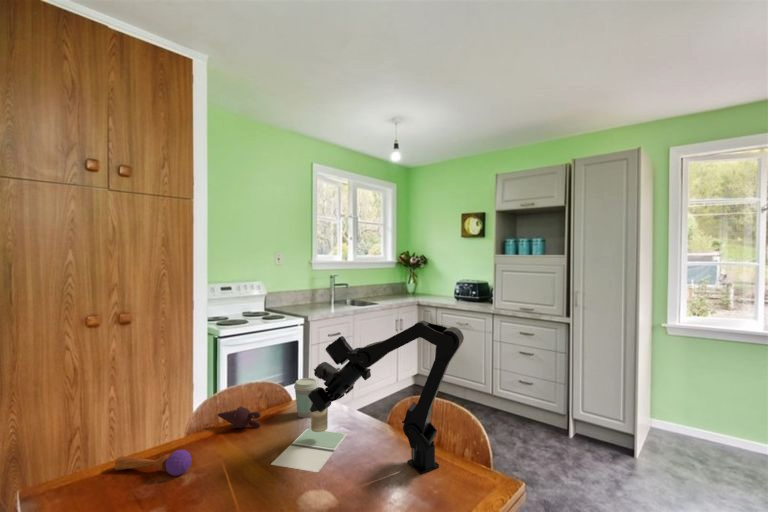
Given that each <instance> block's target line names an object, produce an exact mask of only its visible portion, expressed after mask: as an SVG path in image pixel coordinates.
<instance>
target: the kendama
mask: <svg viewBox="0 0 768 512" xmlns="http://www.w3.org/2000/svg"><path fill="white" fill-rule="evenodd" d="M124 457H125V458H124ZM118 459H119V460H118ZM192 459H193V458H192V455H191V453H190V452H189V451H188V450H186V449H177V450H175V451H173V452H172V453H167V454H165V455H163V456H161V457H159V458H157V459H149V458H141V457H133V456H124V455H120V456H118V457H117V458H116V459H115V462H114V465H113V466H114V470H115V471H123V470H129V469H134V468H136V469H137V468H143V467H149V466H155V467H156V468H158V469H159V470H161V471H162V472H164V473H165V472H167V474H170V475H171V476H172V477H174V476H175V477H177V476H181V475H183V474H185V473H186V472H187V471H188V470H189V468H191V465H192V461H193V460H192Z"/></svg>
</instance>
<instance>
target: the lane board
mask: <svg viewBox="0 0 768 512" xmlns="http://www.w3.org/2000/svg"><path fill="white" fill-rule="evenodd" d="M347 435H348V433H343V432H335V431H329V430H325V431H322V432H314V431H312V430H311V428H306V430H304V431H303V432H301V434H300V435H299V436H298V437H297V438H296V439H295V440H294V441H293V442H291V443H290V444H289V446H288V447H286V449H284V450H283V452H281V454H279V455H278V456H277V457H276V458H275V460H272V462H271V464H270V466H271V465H272V466H276V467H284V468H289V469H296V470H301V471H305V472H306V471H307V472H313V473H319V472H320V471H321V469H322V468H323V466H324V465H325V464H326V463H327V461H328V460H329V459H330V458H331V456H332V455H333V453H334V452H335V451H336V449H338V447H339V446H340V445H341V443H342V442H343V440H344V439H345V438H346V436H347Z"/></svg>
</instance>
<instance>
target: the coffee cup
mask: <svg viewBox="0 0 768 512" xmlns="http://www.w3.org/2000/svg"><path fill="white" fill-rule="evenodd" d="M318 387H319V384H318V381H317V379H315V378H311V377H303V378H299V379H297V380H296V381H295V383H294V387H293V388H294V391H295V392H294V394H295V400H296V401H295V404H296V413H297V416H298V417H299V418H301V419H303V418H304V419H305V418H306V419H307V418H311V411H310V408H311V400H310V399H309V397H308V394H309V393H310V392H311V391H313V390H314V389H316V388H318Z"/></svg>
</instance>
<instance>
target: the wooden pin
mask: <svg viewBox="0 0 768 512" xmlns="http://www.w3.org/2000/svg"><path fill="white" fill-rule="evenodd" d="M321 388H323V389H324V391H325V388H324V387H322V386H321ZM325 392H326V391H325ZM312 404H313V403H312V401H311V406H312ZM328 409H329V407H328V408H327V409H325V410H324V411H323V412H319V411H315V412H311V417H310V420H311V421H310V429H311V430H312V431H314V432H322V431H328V426H329V425H328V418H329V417H328V414H329V413H328V412H329V410H328Z"/></svg>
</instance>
